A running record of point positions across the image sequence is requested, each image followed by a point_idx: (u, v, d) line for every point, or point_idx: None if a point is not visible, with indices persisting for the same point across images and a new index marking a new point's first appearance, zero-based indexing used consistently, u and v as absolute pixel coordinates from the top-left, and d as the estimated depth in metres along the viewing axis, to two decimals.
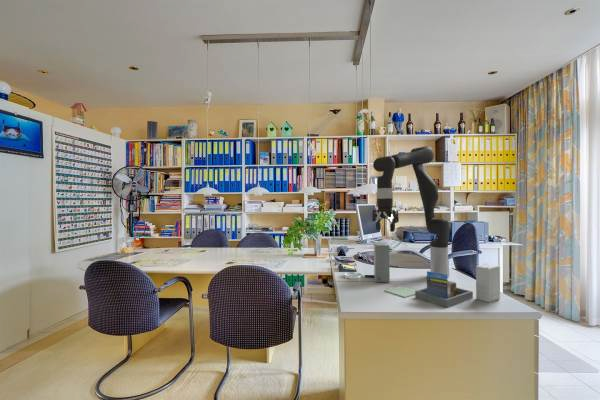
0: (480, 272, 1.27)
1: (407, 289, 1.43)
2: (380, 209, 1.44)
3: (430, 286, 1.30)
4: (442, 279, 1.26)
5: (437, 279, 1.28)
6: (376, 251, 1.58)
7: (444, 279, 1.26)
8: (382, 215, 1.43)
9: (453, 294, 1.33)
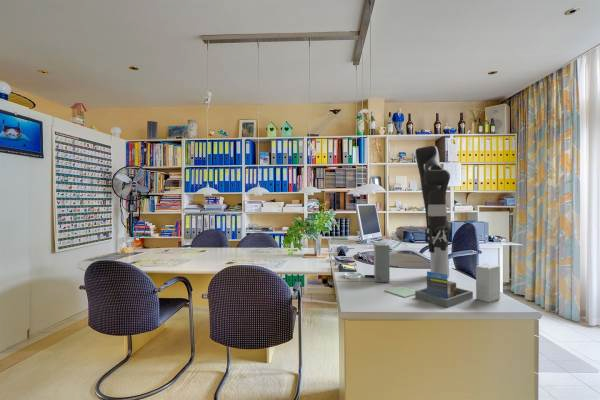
0: (480, 272, 1.27)
1: (407, 289, 1.43)
2: (437, 228, 1.27)
3: (430, 286, 1.29)
4: (442, 279, 1.26)
5: (437, 279, 1.28)
6: (376, 251, 1.58)
7: (444, 279, 1.25)
8: None
9: (453, 294, 1.33)
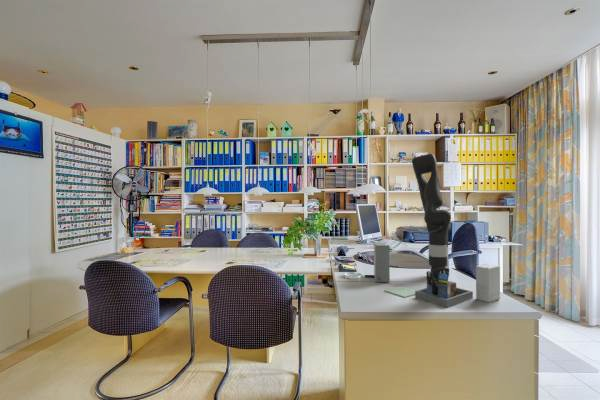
0: (481, 272, 1.27)
1: (407, 289, 1.43)
2: (438, 268, 1.27)
3: (430, 286, 1.30)
4: (442, 279, 1.26)
5: None
6: (376, 251, 1.58)
7: (444, 279, 1.26)
8: None
9: (453, 294, 1.33)
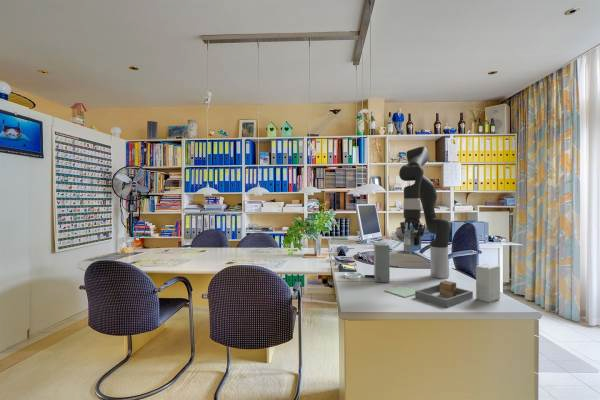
0: (481, 272, 1.27)
1: (407, 289, 1.43)
2: None
3: (412, 239, 1.34)
4: None
5: None
6: (376, 251, 1.58)
7: None
8: None
9: (453, 294, 1.33)
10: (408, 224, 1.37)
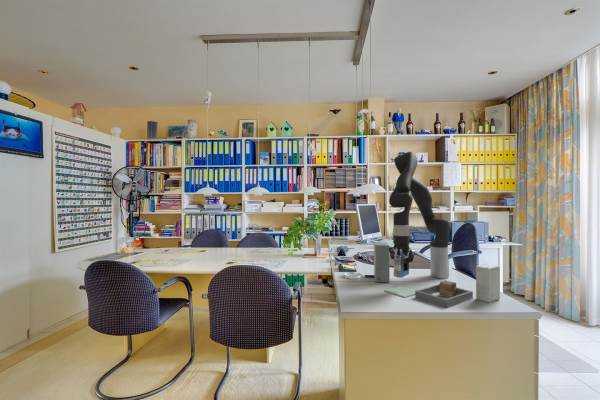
0: (481, 272, 1.27)
1: (407, 289, 1.43)
2: None
3: (402, 264, 1.38)
4: None
5: None
6: (376, 251, 1.58)
7: (408, 254, 1.42)
8: None
9: (453, 294, 1.33)
10: (398, 250, 1.41)
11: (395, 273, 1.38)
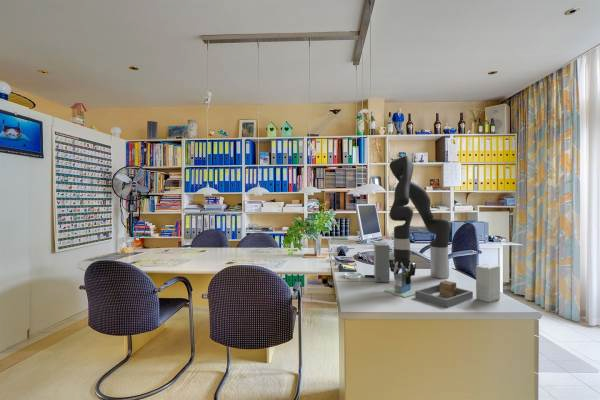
0: (481, 272, 1.27)
1: None
2: None
3: (403, 280, 1.37)
4: None
5: None
6: (376, 251, 1.58)
7: None
8: None
9: (453, 294, 1.33)
10: (398, 263, 1.40)
11: (396, 289, 1.38)
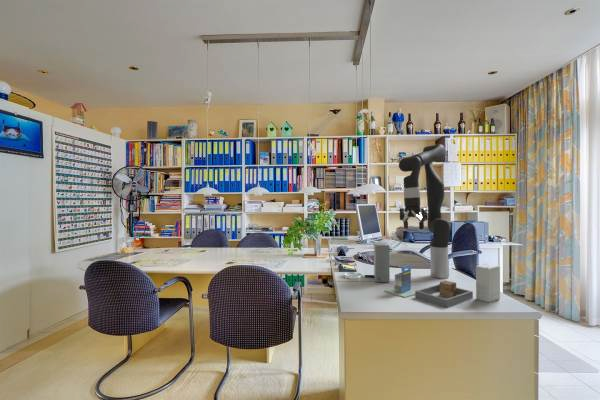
0: (481, 272, 1.27)
1: None
2: None
3: (403, 280, 1.37)
4: (409, 270, 1.40)
5: (406, 272, 1.39)
6: (376, 251, 1.58)
7: (409, 269, 1.41)
8: None
9: (453, 294, 1.33)
10: (409, 212, 1.47)
11: (396, 289, 1.38)
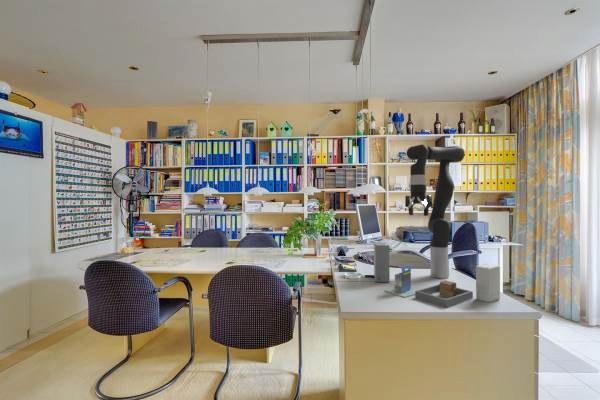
0: (481, 272, 1.27)
1: None
2: None
3: (403, 280, 1.37)
4: (409, 270, 1.40)
5: (406, 272, 1.39)
6: (376, 251, 1.58)
7: (409, 269, 1.41)
8: None
9: (453, 294, 1.33)
10: (414, 199, 1.51)
11: (396, 289, 1.38)
